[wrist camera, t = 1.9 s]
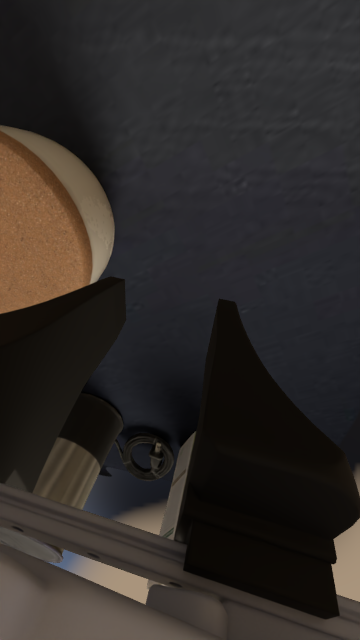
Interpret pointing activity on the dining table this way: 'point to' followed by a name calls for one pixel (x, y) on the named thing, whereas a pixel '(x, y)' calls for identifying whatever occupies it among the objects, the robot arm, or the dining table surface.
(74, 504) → the milk frother
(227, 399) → the robot arm
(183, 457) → the syrup box
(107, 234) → the trinket box
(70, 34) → the dining table surface
